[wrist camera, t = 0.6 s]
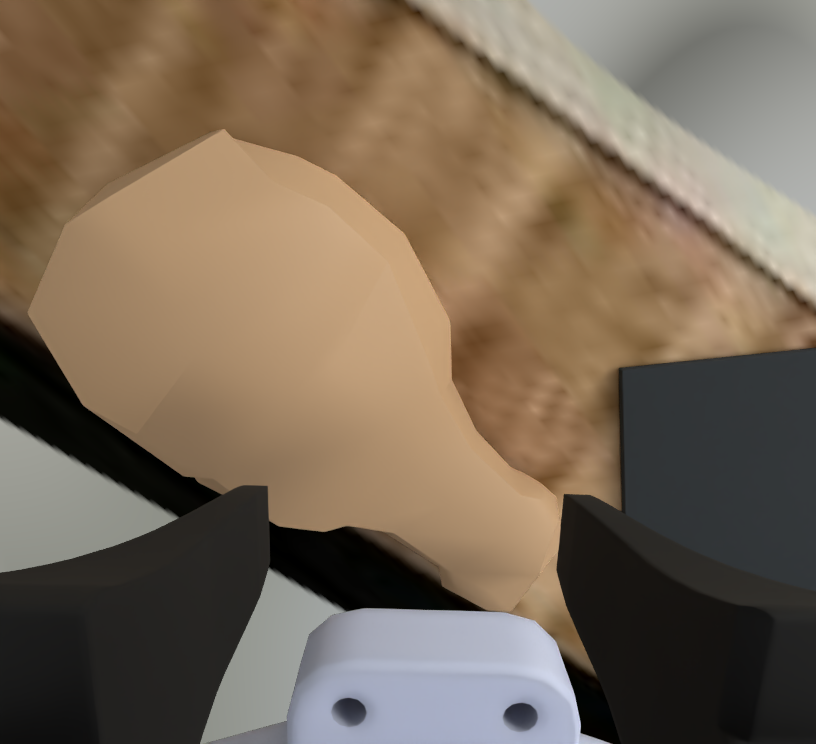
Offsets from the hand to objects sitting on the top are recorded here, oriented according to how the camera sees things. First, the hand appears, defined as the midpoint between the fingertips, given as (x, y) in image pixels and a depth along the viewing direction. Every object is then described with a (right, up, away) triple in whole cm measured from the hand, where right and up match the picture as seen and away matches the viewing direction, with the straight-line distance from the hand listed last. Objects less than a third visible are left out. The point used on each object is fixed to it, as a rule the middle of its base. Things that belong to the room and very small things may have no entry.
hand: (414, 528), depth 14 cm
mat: (+14, -1, +11) cm, 18 cm away
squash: (-2, +4, +10) cm, 11 cm away
